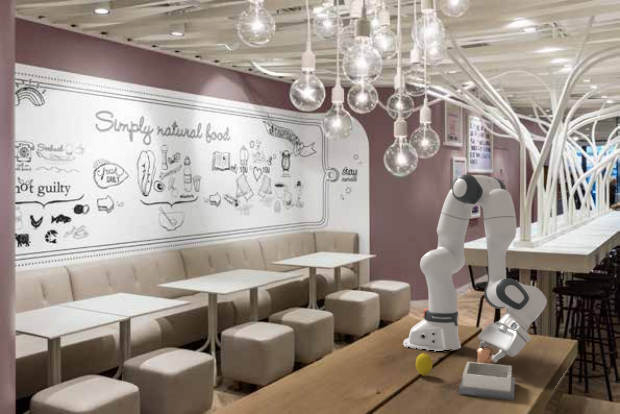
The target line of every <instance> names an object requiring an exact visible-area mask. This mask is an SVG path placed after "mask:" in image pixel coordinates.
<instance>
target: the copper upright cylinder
mask: <svg viewBox="0 0 620 414" xmlns="http://www.w3.org/2000/svg"><path fill="white" fill-rule="evenodd" d="M493 349H494V348H493V347H491V346H487V347H484V343H481V342H479V347H477V350H478V352H477V355H476V356H477V359H476V363H487V364H494V362H493V361H492V360H491V357H492V356H493V355H494V353H493V352H494V350H493Z"/></svg>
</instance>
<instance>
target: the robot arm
mask: <svg viewBox="0 0 620 414" xmlns="http://www.w3.org/2000/svg"><path fill="white" fill-rule="evenodd" d="M477 205H478V206H480V207H481V210H482V212H483V225H484V234H485V240H486V241H485V242H486V250H487V252H486V254H487V255H486V257H487V282H486V285H485V288H484V294H483V295H484V300H485V301H486V303H487V304H488V305H489V306H490V307H492V308H494V309H498V310H499V309H505V308H506V310H507V311H506V312H505V313H504V314H503V316H501V318H500V319H499V320H498V321H495V322H491V323H489V324H488V325H487V326H486V327H485V328H483V329H482V331H481V332H480V333H479V334H478V339H479V340H480V343H484V347H490V348H492V349H495V350H497V351H498V352H497V353H496V354H493V356H492V357H491V360H492V361H493V363H494V364H496V363H497V362H498V361H499V360H501V359H503V358H504V357H506V355H508V356H509V357H511V358H513V357H515V356H517V355H518V354H519V353H520V352H521V351H522V349H523V348H524V347H525V346H526V343H529V342H530V341H531V339H532V337H531V336H530V335H529V333H528V332H527V330H529V328H530V325H531V324H532V323H533V322H534V321H535V322H536V320H537V319H539V317H540V315H542V312H544V310H545V308H546V306H547V303H548V300H547V296H546V295H545V294H544V292H543V291H542V290H541V289H539V287H536V286H535V285H534V286H533V285H527V284H523V283H521V282H519V281H517V280H515V279H513V278H509V277H507V268H506V267H507V265H506V264H507V263H506V256H507V255H506V254H507V251H508V249H509V248H510V246H511V244H512V243H513V241H514V240H515V238H516V234H517V216H516V209H515V205H514V201H513V197H512V195H511V193H510V192H509V191H508V190H507V187H506V185H505V184H504V182H503V181H502V180H500V179H499V178H497V177H494V176H493V177H492V176H491V177H490V176H488V175H484V174H478V175H477V174H469V173H468V174H461V175H458V176H457V177H456V178H454V180H453V182H452V186H451V188H450V190H448V193H447V195H446V197H445V199H444V202H443V205H442V209H441V213H440V215H439V220H438V223H437V228H436V233H437V237H438V238H437V239H438V240H437V248H436V249H431V250H429V251H427V252H426V253H425V254H424V255H423V256H422V257H421V259H420V263H419V268H420V271H421V272H422V273H423V275H424V276H425V280H426V281H425V282H426V285H427V286H426V287H427V291H428V308H425V309H424V310H423V314H422V315H423V316H422V317H423V319H422V320H420V321H419V322H417V323H416V324H415V325H413V326H412V327H411V328H410V330H409V334H408V337H407V338H405V339H404V340H403V342H402V343H403V344H402V345H404V346H403V347H405V348H408V347H410V348H409V349H415V350H422V349H426V350H425V351H429V350H434V351H433V352H436V351H443V350H448V349H452V350H451V351H456V350H459V349H461V348H462V346H461V345H462V344H461V341H460V338H459V328H458V326H459V311H458V291H457V289H456V288H455V285H454V280H453V275H454V274H457V273H458V272H460V270H461V269H462V268H463V267H464V266H465V263H466V257H465V254H464V253H465V238H466V234H467V229H468V227H469V222H470V219H471V215H472V211H473V208H475V206H477ZM416 348H417V349H416ZM476 352H477V353H478V349H476Z"/></svg>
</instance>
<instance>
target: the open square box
mask: <svg viewBox="0 0 620 414" xmlns="http://www.w3.org/2000/svg"><path fill="white" fill-rule="evenodd" d="M512 370H513V365H506V364H496V363H493V364H487V363H477V361H475V362H473V361H466V364H465V366H464V370H463V373H462V378H461V380H460V384H459V387H458V394H459V395H465V396H473V397H479V398H480V397H483V398H489V399H491V398H492V399H499V400H509V401H510V400H511V401H515V389H516V377H515V376H514V377H513V371H512Z"/></svg>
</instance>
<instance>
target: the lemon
mask: <svg viewBox="0 0 620 414" xmlns="http://www.w3.org/2000/svg"><path fill="white" fill-rule="evenodd" d="M415 369H416V371H417V372H418V374H420V375H421V376H423V377H426V375H428V374H430V373H431V371H432V369H433V361H432V358H431V356H430V355H429V354H427V353H426V352H421V353H419V355H418V356H416V360H415Z"/></svg>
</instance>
